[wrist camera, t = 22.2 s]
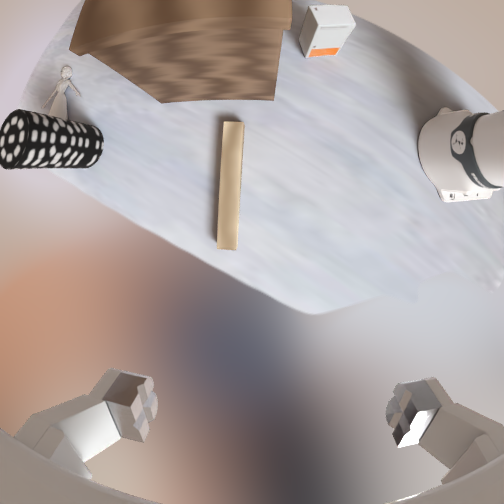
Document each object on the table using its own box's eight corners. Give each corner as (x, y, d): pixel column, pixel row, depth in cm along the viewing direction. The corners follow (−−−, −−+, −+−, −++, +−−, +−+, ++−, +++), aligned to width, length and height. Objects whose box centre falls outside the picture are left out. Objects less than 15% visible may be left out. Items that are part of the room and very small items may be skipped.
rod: (244, 125, 42) (243, 122, 39) (237, 245, 47) (235, 250, 44) (226, 125, 42) (223, 121, 39) (219, 244, 47) (216, 248, 44)
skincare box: (304, 59, 38) (316, 25, 26) (298, 40, 37) (307, 4, 26) (337, 56, 38) (357, 24, 26) (330, 37, 37) (347, 3, 25)
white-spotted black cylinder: (69, 169, 44) (-6, 171, 24) (73, 128, 42) (1, 115, 22) (101, 168, 44) (25, 167, 24) (106, 124, 42) (33, 104, 22)
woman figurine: (28, 149, 39) (43, 71, 36) (41, 151, 43) (54, 77, 40) (66, 139, 38) (82, 55, 35) (79, 142, 43) (93, 63, 40)
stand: (278, 19, 36) (287, -81, 11) (276, 103, 40) (292, 18, 15) (169, 24, 37) (113, -57, 11) (158, 106, 41) (68, 49, 16)
